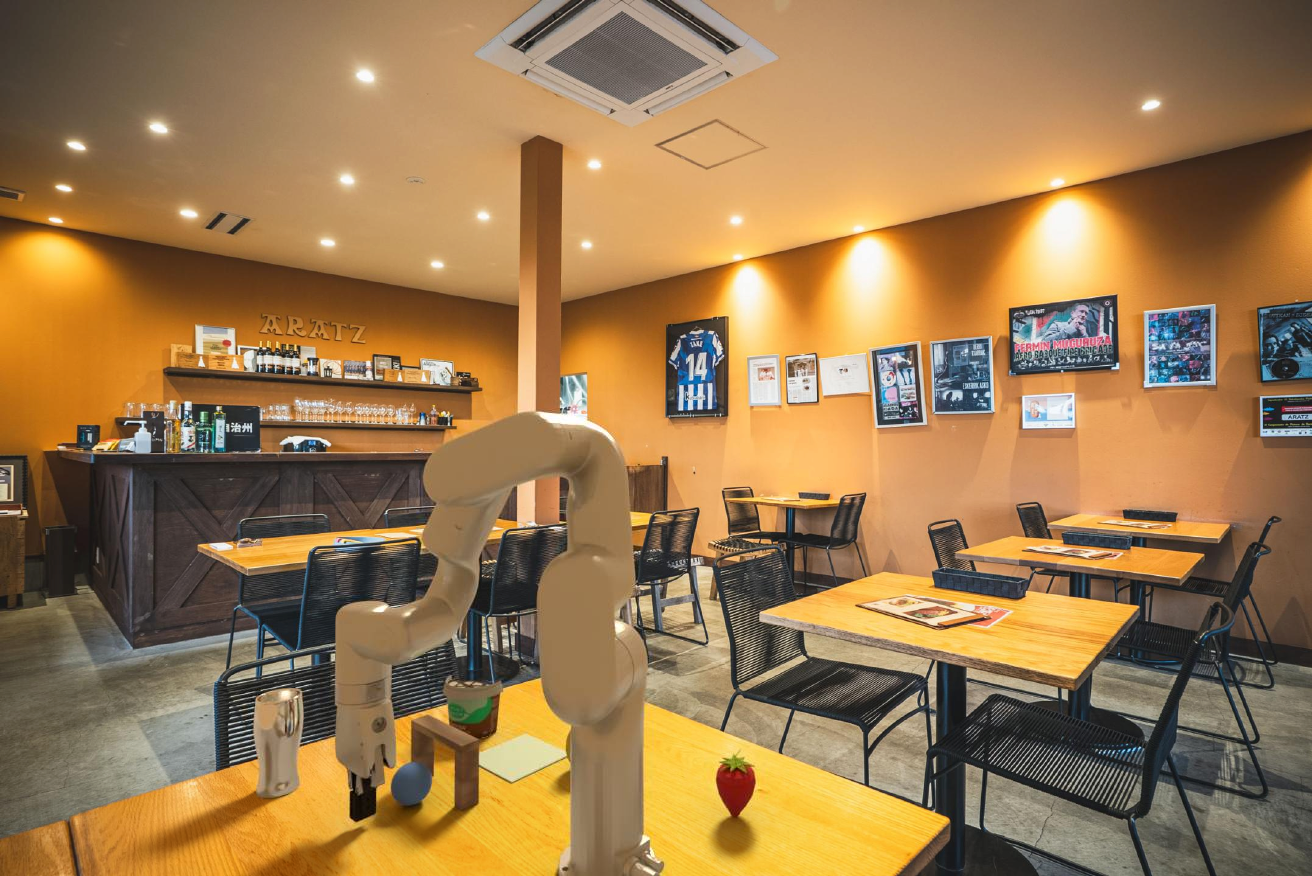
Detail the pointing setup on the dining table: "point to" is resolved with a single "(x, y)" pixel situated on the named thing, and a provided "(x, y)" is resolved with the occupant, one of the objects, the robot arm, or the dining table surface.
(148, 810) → the dining table surface
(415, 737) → the bridge
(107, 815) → the dining table surface
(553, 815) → the dining table surface
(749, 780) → the strawberry
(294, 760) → the metal pint tumbler
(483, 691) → the food container
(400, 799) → the ball
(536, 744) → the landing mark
